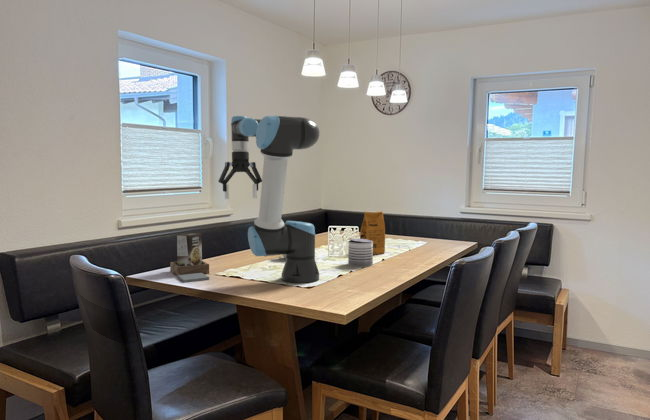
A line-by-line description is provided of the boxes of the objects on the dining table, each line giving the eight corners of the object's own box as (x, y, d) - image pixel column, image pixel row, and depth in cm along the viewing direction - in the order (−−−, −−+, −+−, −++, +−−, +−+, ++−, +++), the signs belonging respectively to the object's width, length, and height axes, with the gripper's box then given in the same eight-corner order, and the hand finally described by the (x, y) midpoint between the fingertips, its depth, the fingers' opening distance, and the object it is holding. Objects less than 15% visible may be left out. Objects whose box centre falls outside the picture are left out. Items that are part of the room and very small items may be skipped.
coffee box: (189, 274, 202) (188, 235, 200) (177, 273, 204) (176, 235, 203) (202, 270, 210) (202, 233, 209) (190, 268, 213) (189, 232, 211)
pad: (209, 279, 194) (209, 277, 194) (184, 282, 189) (183, 280, 189) (201, 274, 202) (201, 272, 202) (177, 277, 197) (177, 275, 197)
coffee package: (357, 252, 259) (358, 211, 257) (379, 251, 262) (379, 210, 260) (364, 255, 249) (364, 212, 247) (386, 254, 253) (387, 212, 251)
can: (348, 262, 231) (348, 237, 230) (372, 262, 231) (372, 237, 230) (348, 266, 220) (348, 240, 219) (373, 267, 219) (373, 240, 218)
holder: (209, 273, 205) (209, 264, 205) (178, 277, 198) (177, 267, 198) (200, 268, 216) (199, 259, 216) (170, 271, 209) (170, 262, 209)
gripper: (261, 152, 228) (262, 197, 229) (210, 150, 214) (211, 199, 215) (269, 151, 221) (269, 198, 223) (216, 150, 208) (217, 199, 209)
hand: (241, 198), depth 219 cm, fingers open, 13 cm apart
